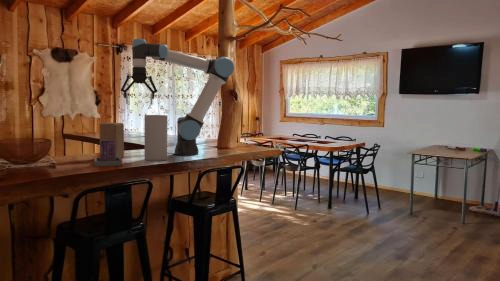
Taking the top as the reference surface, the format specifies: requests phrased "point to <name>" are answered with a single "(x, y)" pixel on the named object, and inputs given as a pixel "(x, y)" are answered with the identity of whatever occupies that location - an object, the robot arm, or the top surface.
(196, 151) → the robot arm
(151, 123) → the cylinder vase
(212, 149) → the top surface
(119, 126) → the wooden block
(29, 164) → the top surface
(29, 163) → the top surface
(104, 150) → the beverage can
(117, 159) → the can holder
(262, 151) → the top surface
